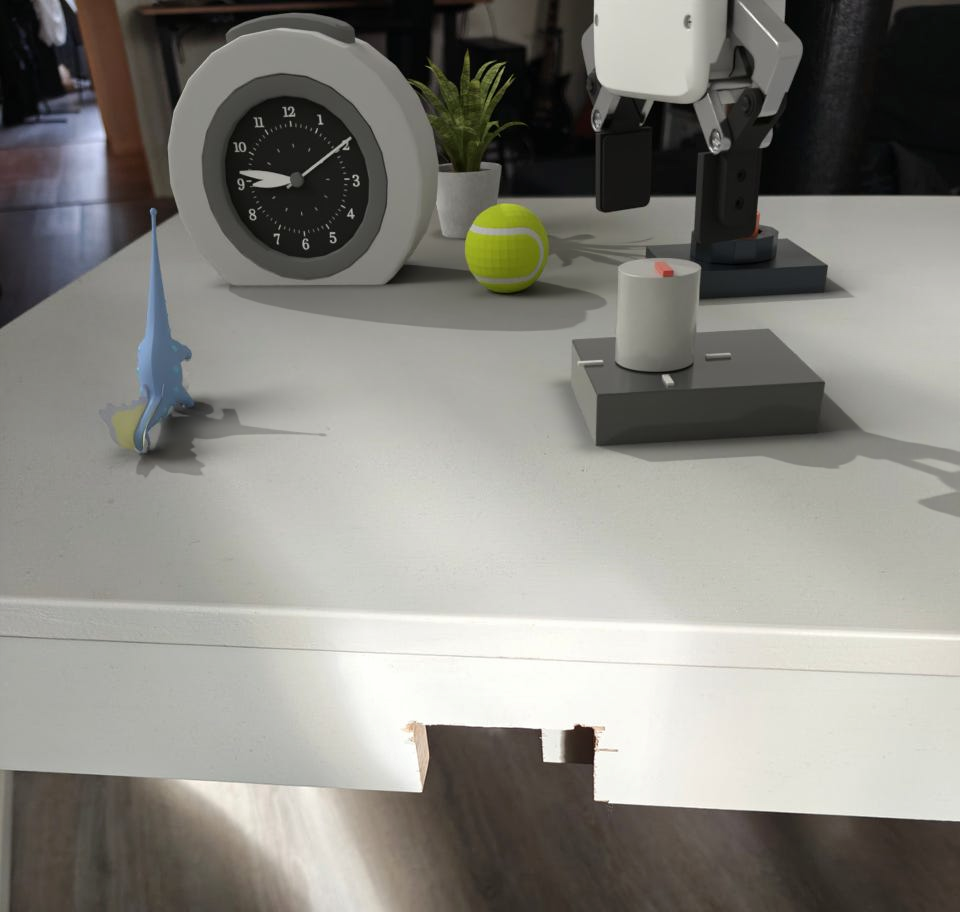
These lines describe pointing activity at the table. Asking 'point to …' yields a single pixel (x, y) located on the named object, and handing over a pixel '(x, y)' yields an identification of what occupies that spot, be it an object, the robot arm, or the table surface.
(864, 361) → the table surface
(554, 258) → the table surface
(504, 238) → the tennis ball
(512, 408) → the table surface
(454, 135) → the house plant
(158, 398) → the dinosaur figurine
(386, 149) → the alarm clock
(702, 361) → the dark grey knob base
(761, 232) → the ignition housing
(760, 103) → the robot arm
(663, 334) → the hob knob
